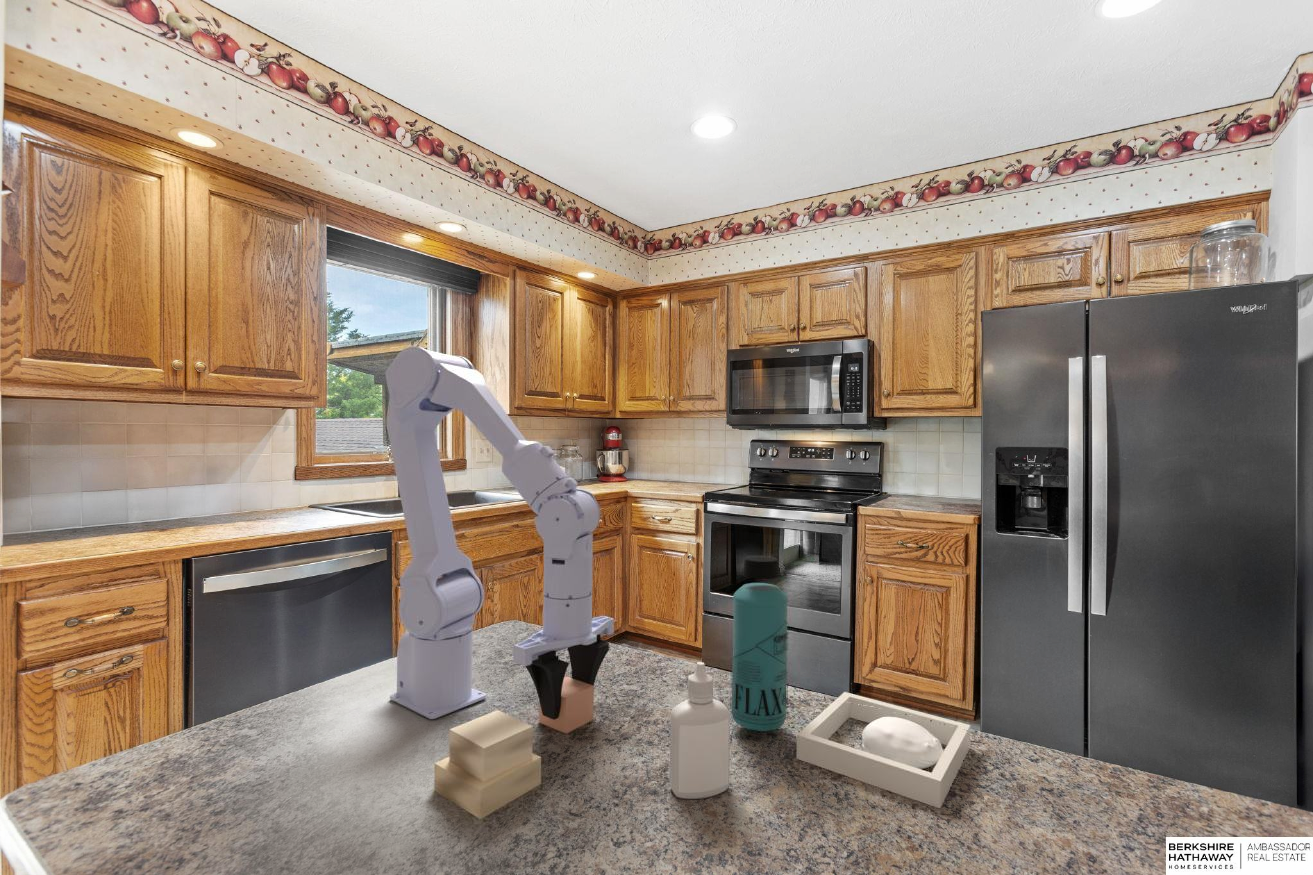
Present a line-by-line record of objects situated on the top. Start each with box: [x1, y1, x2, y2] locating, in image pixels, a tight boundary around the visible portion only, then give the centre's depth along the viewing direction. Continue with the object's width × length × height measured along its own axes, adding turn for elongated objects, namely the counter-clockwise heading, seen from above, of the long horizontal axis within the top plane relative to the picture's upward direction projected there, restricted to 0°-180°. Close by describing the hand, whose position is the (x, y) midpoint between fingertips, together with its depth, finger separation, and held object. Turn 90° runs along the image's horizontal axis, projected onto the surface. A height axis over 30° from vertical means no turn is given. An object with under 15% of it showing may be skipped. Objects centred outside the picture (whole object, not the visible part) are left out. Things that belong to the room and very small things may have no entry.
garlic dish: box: [796, 691, 971, 809], centre depth 66 cm, size 14×14×2 cm
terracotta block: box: [538, 676, 595, 734], centre depth 72 cm, size 4×4×4 cm
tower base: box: [433, 752, 542, 820], centre depth 58 cm, size 7×7×3 cm
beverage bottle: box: [729, 555, 789, 731], centre depth 70 cm, size 6×7×20 cm
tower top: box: [448, 709, 534, 782], centre depth 59 cm, size 6×6×3 cm
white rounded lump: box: [861, 717, 944, 770], centre depth 65 cm, size 8×7×4 cm
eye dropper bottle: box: [668, 661, 731, 800], centre depth 58 cm, size 4×6×12 cm
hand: (566, 708), depth 72 cm, fingers closed on terracotta block, 4 cm apart
